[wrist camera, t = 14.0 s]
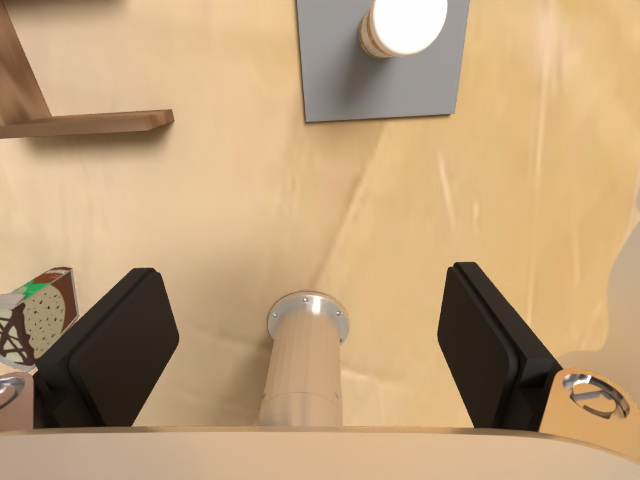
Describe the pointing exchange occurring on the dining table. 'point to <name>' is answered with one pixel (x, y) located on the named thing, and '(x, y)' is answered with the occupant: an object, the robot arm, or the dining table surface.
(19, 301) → the food container
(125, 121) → the shelf box
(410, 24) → the spice jar
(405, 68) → the slate mat
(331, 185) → the dining table surface
